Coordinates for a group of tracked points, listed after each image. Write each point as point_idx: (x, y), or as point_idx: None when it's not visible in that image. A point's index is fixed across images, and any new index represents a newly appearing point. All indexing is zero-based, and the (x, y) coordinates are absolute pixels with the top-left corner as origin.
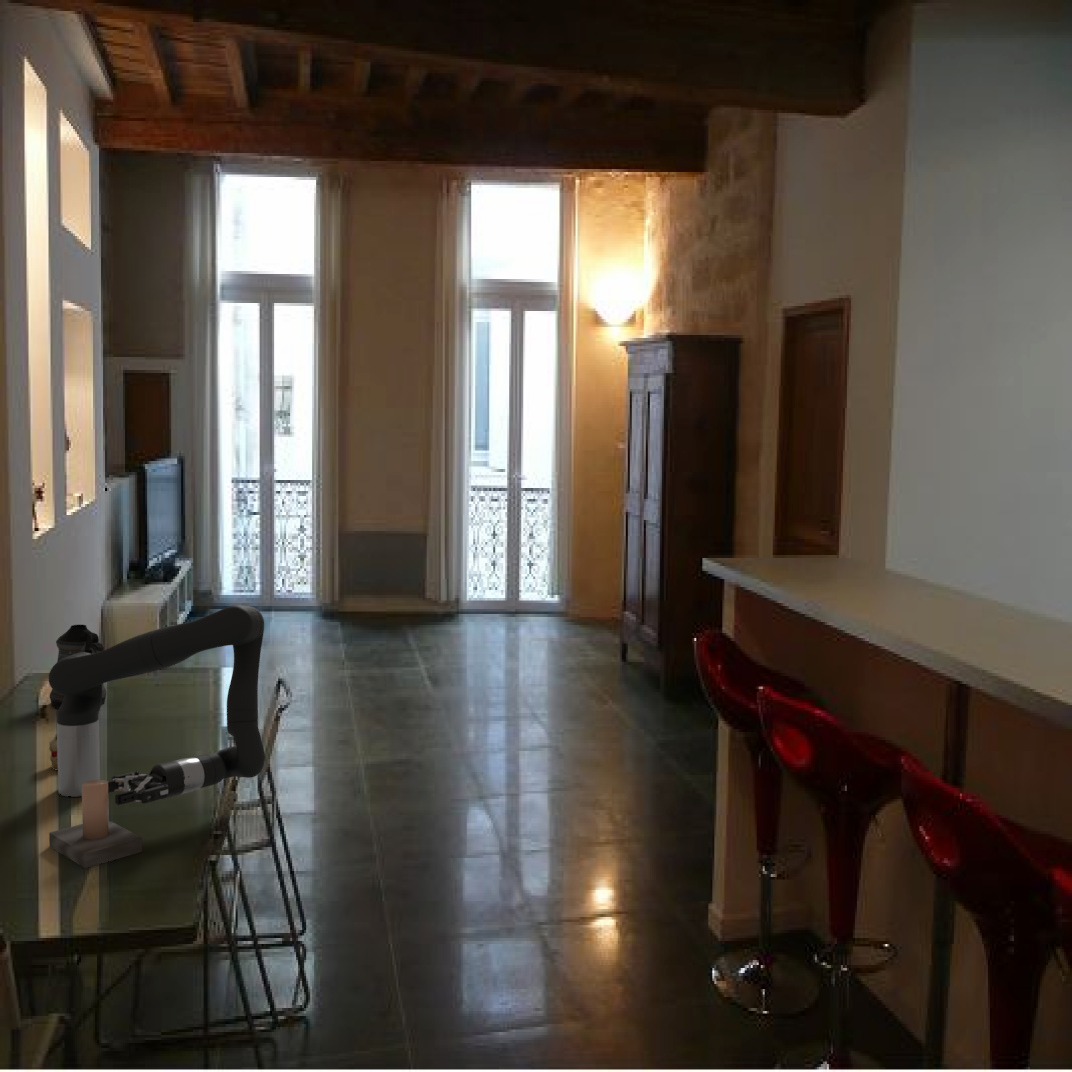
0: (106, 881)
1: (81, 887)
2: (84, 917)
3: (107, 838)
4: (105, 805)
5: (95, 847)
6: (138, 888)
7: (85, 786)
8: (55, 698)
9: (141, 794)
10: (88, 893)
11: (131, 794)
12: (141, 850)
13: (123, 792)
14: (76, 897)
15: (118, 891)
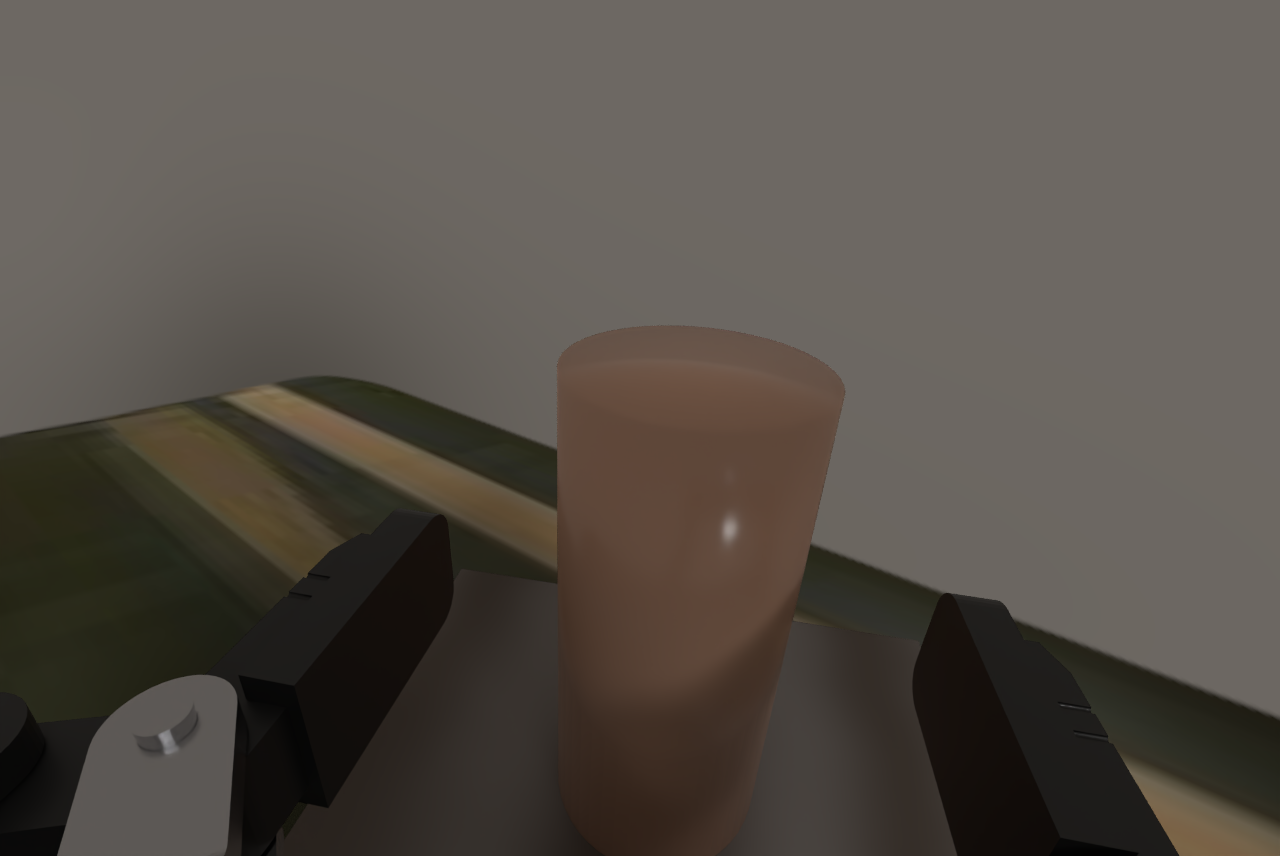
0: (261, 595)
1: (345, 531)
2: (196, 444)
3: (518, 769)
4: (558, 578)
5: (473, 636)
6: (33, 614)
7: (687, 330)
8: None
9: (43, 730)
10: (281, 517)
11: (248, 634)
12: None
13: (378, 566)
14: (311, 491)
15: (144, 565)
